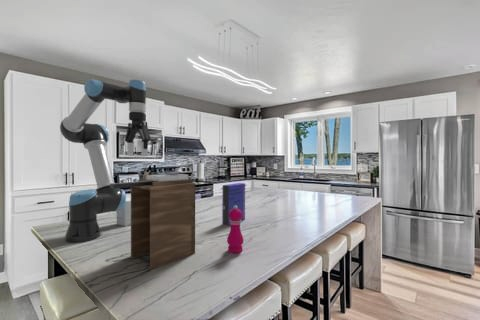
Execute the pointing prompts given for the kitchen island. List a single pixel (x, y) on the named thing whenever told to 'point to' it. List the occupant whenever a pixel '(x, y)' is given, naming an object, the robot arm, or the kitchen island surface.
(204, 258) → the kitchen island surface
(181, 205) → the stand
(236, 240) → the pepper mill
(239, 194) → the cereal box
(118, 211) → the supplement box
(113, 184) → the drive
